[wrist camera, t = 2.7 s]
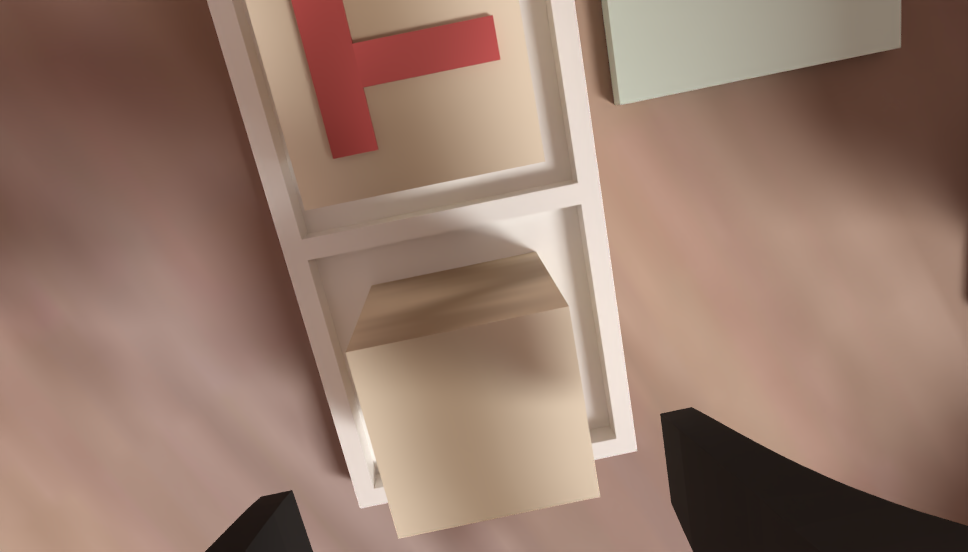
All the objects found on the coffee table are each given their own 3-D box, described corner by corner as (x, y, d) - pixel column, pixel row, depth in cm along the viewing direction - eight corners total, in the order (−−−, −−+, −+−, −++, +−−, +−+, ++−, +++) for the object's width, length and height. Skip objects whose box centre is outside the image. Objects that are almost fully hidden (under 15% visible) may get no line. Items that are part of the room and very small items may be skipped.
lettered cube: (482, -55, 16) (499, -125, 11) (517, 144, 17) (546, 162, 12) (292, -17, 16) (223, -70, 11) (343, 179, 17) (303, 211, 12)
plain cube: (535, 251, 18) (569, 306, 13) (561, 399, 20) (600, 496, 15) (371, 285, 18) (345, 352, 13) (409, 430, 19) (398, 538, 15)
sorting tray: (483, -568, 13) (486, -631, 12) (626, 431, 20) (637, 450, 19) (77, -488, 13) (42, -544, 12) (364, 485, 20) (360, 508, 19)
